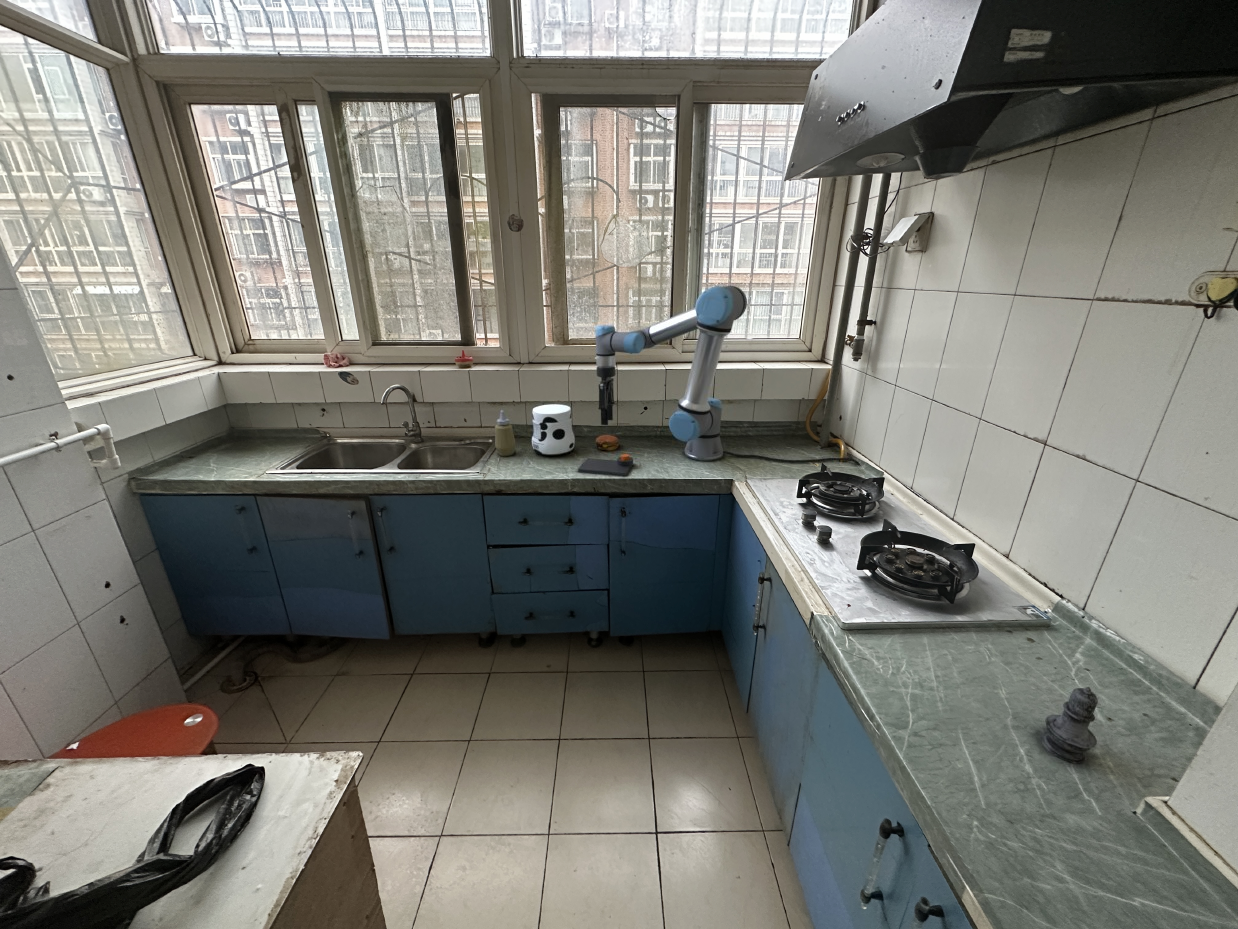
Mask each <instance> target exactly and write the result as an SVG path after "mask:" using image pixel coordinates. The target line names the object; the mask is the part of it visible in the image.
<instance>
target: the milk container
mask: <svg viewBox="0 0 1238 929" xmlns="http://www.w3.org/2000/svg"><path fill="white" fill-rule="evenodd" d="M531 412H532V417H531V418H532V436H531V445H532V449H533V451H534V452H535V453H537V454H539V455H543V456H551V457H553V456H562V455H566V454H568V453H570V452H572V451H573V450H574V448H575V442H576V440H575V439H576V437H575V434H574V431H573V424H572V422H573V420H572V419H573V418H572V409H571V407H570V406H569V405H565V404H558V403H557V404H555V403H554V404H544V405H543V404H542V405H538V406H535V407H534V408H532V411H531Z"/></svg>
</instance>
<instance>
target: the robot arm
mask: <svg viewBox="0 0 1238 929" xmlns="http://www.w3.org/2000/svg"><path fill="white" fill-rule="evenodd" d="M747 306H748V299H747V295H746V293H745V292H744V290H742V289H741V288H740V287H738V286H736V285H722V286H721V285H715V286H712V287H710V288H708V289H705V290H704V291H703V292H701V293H700V295H699V296H698V297H697V300H696V302H695V306H694V307H693V308H691V309H688V310H686V311H683V312H681V313H678V314H676V315H674V316H671V317H668V318H667V319H663V320H662V321H660V322H657V323H655V324H652V325H649V326H647V327H645V328H642V329H638V330H633V331H616V327H615V325H609V324H607V325H606V324H604V325H603V324H602V325H598V326H596V328H595V338H594V339H595V350H596V351H595V352H596V353H595V356H596V357H594V360H596V366H597V367H596V376H597V377H598V378H600V381H599V384H598V410H600V425H601V426H608V425H609V421H613V420H614V414H613V413H614V409H613V408H614V407H613V405H615V404H616V403H615V394H614V393H615V391H614V390H615V389H614V379H615V378H614V377H616V374H617V372H616V371H617V370H616V365H617V364H616V353H623V354H630V355H633V354H637V355H638V354H640V353H641V352H642V351H643V350H646V349H648V350H649V349H651V348H653V347H656V346H657V345H659V344H662V343H665V342H668V341H670V340H673V339H676V338H678V337H680V336H683V335H685V334H688V333H691V332H693V331H697V330H698V337H697V341H696V345H695V349H694V354H693V358H692V362H691V367H690V371H689V375H688V379H687V383H686V387H685V392H684V396H683V397H681V398H680V399H679V400H678V404H677V407H676V411H675V412H674V413H673V414H672V415H671V416H670V418H669V421H668V427H669V431H670V432H671V434H672V435H673V437H674V438H675V439H677V441H678V440H679V441H681V442H684V443H685V442H686V445H685V448H684V456H685V457H686V458H688V459H691V460H695V461H701V462H714V461H718V460H720V459H722V458H723V457H724V455H729V456H733V457H736V458H737V457H738V458H755V459H761V460H762V459H763V460H767V461H773V462H778V463H779V462H780V463H791V464H793V463H796V464H797V463H798V464H799V463H801V464H802V463H804V464H805V463H820V462H828V461H836V462H838V461H849V462H852V463H854V464H856V465H857V466H861V463H860V462H859V461H858V460H856V459H855V458H851V457H824V458H813V459H786V458H785V459H784V458H775V457H769V456H764V455H760V454H759V455H758V454H743V453H742V454H741V453H734V452H731V451H726V450H724V448H723V444H722V440H721V436H720V435H721V424H722V412H723V405H722V404H723V403H722V400H720V399H719V398H714V397H710V395H711V391H712V387H713V383H714V380H715V375H716V371H717V368H718V364H719V360H720V356H721V352H722V350H723V344H724V341H725V338H726V336H728V335H729V334H731V332H732V329H733V325H734V321H736V320H738V319H740V318H741V317H742V316H743V315H744V314H745V312H746V310H747Z"/></svg>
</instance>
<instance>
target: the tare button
mask: <svg viewBox="0 0 1238 929" xmlns="http://www.w3.org/2000/svg"><path fill="white" fill-rule="evenodd" d="M620 457H621V460H623V461H627V460H629V457H630V454H627V453H623V454H621V456H620Z"/></svg>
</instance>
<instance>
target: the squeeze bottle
mask: <svg viewBox="0 0 1238 929" xmlns="http://www.w3.org/2000/svg"><path fill="white" fill-rule="evenodd" d="M494 447H495V449H496V451H497V454H498V455H499V456H502V457H508V456H512V455H513V454H514V452H515V448H516V440H515V435H514V430H513V425H512V424H511V423H510V419H509V418H507V417H506V414H505V411H504V410H500V413H499V418H498V419H496V425H495V426H494Z"/></svg>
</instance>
